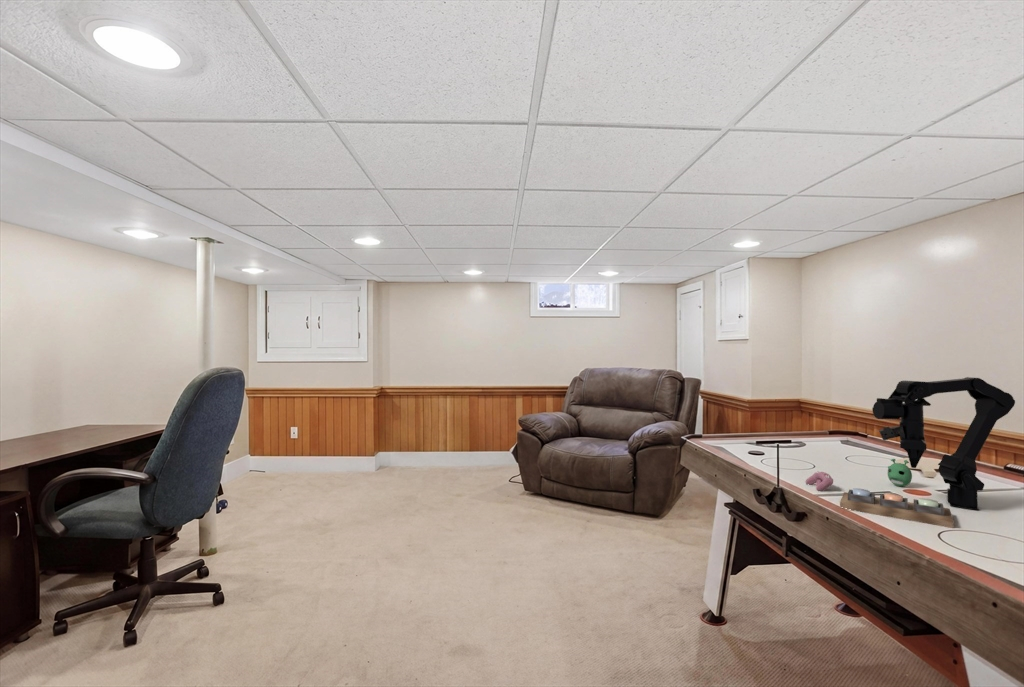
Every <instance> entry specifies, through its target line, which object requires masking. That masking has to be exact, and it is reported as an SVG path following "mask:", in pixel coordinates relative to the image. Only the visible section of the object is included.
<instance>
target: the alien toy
mask: <svg viewBox="0 0 1024 687" xmlns="http://www.w3.org/2000/svg"><path fill="white" fill-rule="evenodd" d="M896 460H897V459H896V458H891V459H890V461H891V462H893V463H892V464H890V465H888V466H887V477H888V480H889V481H890V482H891V484H893V485H894V486H896V487H900V486H903V487H907V486H908V485H910V483H911V482H912V480H913V473H912V471H911V469H910V467H909V466H908V465H907V464H910V461H909V460H907V459H904V460H903V462H904V463H902V462H896Z"/></svg>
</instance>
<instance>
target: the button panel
mask: <svg viewBox="0 0 1024 687" xmlns="http://www.w3.org/2000/svg"><path fill="white" fill-rule="evenodd" d="M908 499H909V498H908V497H903V502H900V501H894V500H887V499H885V497H884V494H882V493H881V494H880V493H879V497H878V496H876V493H875V492H870V497H868V496H862V495H855V494H853V489H849V490H848V492H846V491H844V492H843V494H842V496H841V498H840V501H839V508H840V507H843V508H847V509H846V510H848V509H851V510H850V511H854V510H856V511H855V512H859V511H860V512H861V513H865V514H866V513H867V514H871V515H875V516H876V515H879V516H883V517H889V518H896V519H900V520H901V519H902V520H905V521H912V522H916V523H917V522H918V523H922V524H928V525H932V526H933V525H934V526H940V527H947V528H952V529H954V518H953V515H952V511H951V509H950V508H948V507H944V504H943V503H940V502H938V507H932V506H925V505H919V502H918V499H915V498H914V499H913V502H909V501H908ZM860 512H859V513H860Z"/></svg>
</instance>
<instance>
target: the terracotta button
mask: <svg viewBox="0 0 1024 687" xmlns="http://www.w3.org/2000/svg"><path fill="white" fill-rule="evenodd" d="M883 495H884V497H885V499H887V500H894V501H900V502H903V498H904V496H903V495H901V494H897V493H889V492H888V493H887V492H886V493H884V494H883Z"/></svg>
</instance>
